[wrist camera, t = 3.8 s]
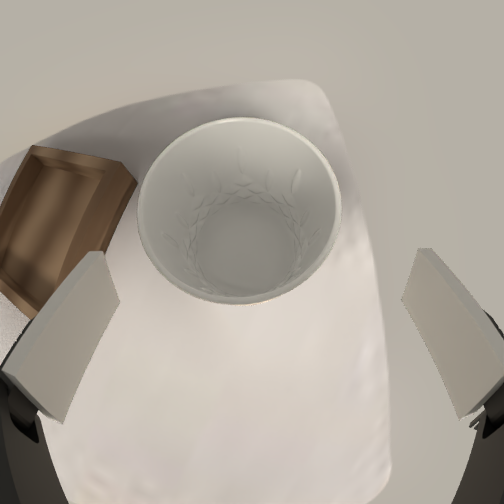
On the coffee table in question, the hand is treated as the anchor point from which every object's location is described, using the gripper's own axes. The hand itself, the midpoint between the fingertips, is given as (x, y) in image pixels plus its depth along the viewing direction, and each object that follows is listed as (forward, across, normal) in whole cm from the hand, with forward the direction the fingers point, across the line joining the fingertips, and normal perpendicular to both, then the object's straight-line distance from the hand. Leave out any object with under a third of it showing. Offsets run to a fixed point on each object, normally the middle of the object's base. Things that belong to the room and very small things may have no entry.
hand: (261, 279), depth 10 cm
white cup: (+8, -1, -4) cm, 9 cm away
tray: (+10, -19, -2) cm, 22 cm away
